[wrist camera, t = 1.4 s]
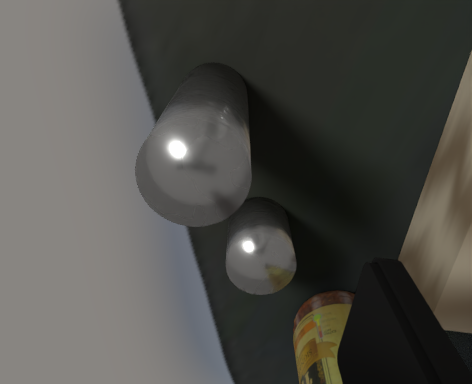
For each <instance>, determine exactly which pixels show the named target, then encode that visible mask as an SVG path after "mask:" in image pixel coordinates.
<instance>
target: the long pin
mask: <svg viewBox="0 0 472 384" xmlns="http://www.w3.org/2000/svg"><path fill="white" fill-rule="evenodd" d="M135 174H136V181H137V185H138V188H139V190H140V193H141V195H142V196H143V198H144V200H145V201H146V202H147V203H148V205H149V206H150V207H151V208H152V209H153V210H154V211H155V212H157V213H158V214H159V215H160V216H162V217H164V218H165V219H167V220H169V221H171V222H174V223H177V224H180V225H185V226H194V227H197V226H207V225H212V224H215V223H218V222H220V221H223V220H224V219H226V218H228V217H229V216H231V215H232V214H233V213H234V212H235V211H237V210H238V209H239V207H240V206H241V205H242V204H243V202H244V200H245V199H246V197H247V194H248V192H249V189H250V185H251V155H250V134H249V113H248V93H247V88H246V85H245V83H244V81H243V79H242V77H241V76H240V75H239V74H238V73H237V72H236V71H235V70H234V69H232V68H231V67H229V66H227V65H224V64H221V63H214V62H213V63H205V64H202V65H199V66H197V67H196V68H194V69H193V70H191V71H190V72H189V73H188V75H187V76H186V77H185V79H184V80H183V82H182V84H181V85H180V87H179V88H178V90H177V91H176V93H175V95H174V96H173V98H172V99H171V101H170V102H169V104H168V106H167V107H166V109H165V110H164V112H163V113H162V115H161V117H160V118H159V120H158V121H157V123H156V125H155V126H154V128H153V129H152V131H151V132H150V134H149V136H148V137H147V139H146V140H145V142H144V143H143V145H142V147H141V149H140V151H139V153H138V156H137V160H136V167H135Z"/></svg>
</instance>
